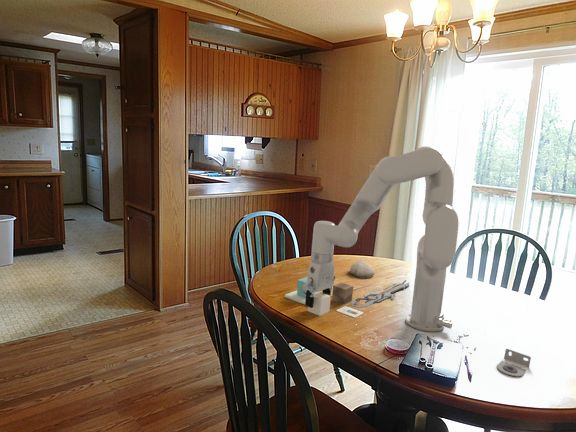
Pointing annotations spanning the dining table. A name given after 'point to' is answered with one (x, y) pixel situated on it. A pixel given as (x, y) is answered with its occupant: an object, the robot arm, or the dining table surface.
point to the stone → (362, 269)
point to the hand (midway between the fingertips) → (317, 303)
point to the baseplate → (295, 297)
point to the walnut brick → (342, 293)
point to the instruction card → (350, 311)
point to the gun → (380, 295)
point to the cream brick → (320, 304)
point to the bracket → (513, 369)
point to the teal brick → (300, 287)
